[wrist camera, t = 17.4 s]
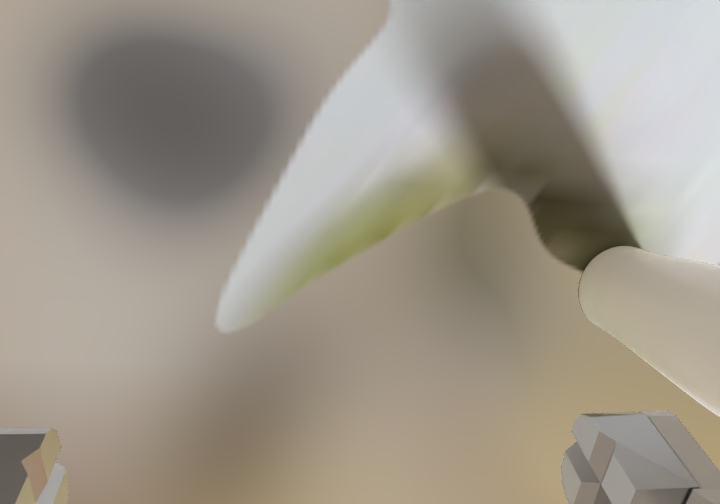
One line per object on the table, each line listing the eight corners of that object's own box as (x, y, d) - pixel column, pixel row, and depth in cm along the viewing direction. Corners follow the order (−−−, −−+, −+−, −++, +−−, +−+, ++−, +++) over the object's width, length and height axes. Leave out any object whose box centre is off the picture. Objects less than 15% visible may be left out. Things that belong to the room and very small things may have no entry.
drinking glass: (549, 328, 39) (730, 452, 24) (580, 221, 38) (789, 285, 23) (644, 345, 40) (869, 473, 26) (677, 243, 39) (931, 316, 24)
